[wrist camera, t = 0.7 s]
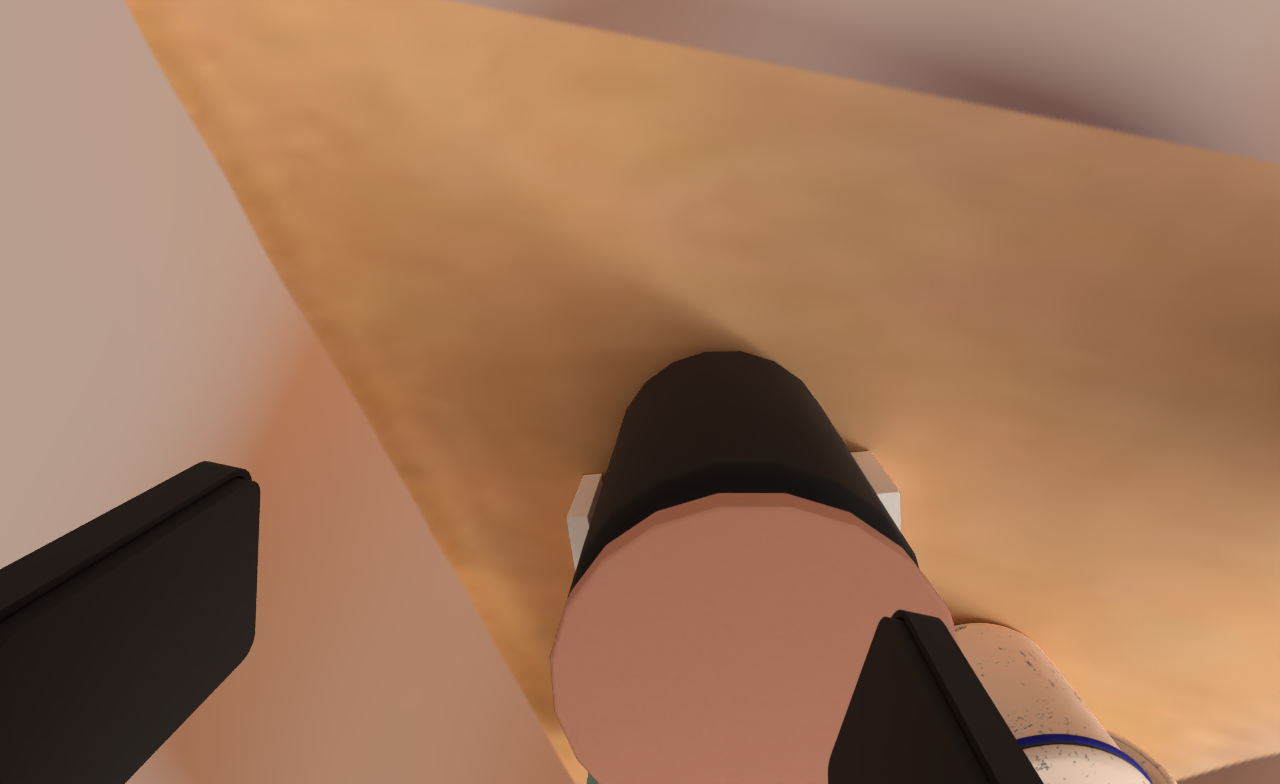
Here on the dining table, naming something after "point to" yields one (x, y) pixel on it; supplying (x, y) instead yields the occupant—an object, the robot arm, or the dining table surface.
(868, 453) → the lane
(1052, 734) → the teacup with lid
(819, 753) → the coffee jar
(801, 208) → the dining table surface
